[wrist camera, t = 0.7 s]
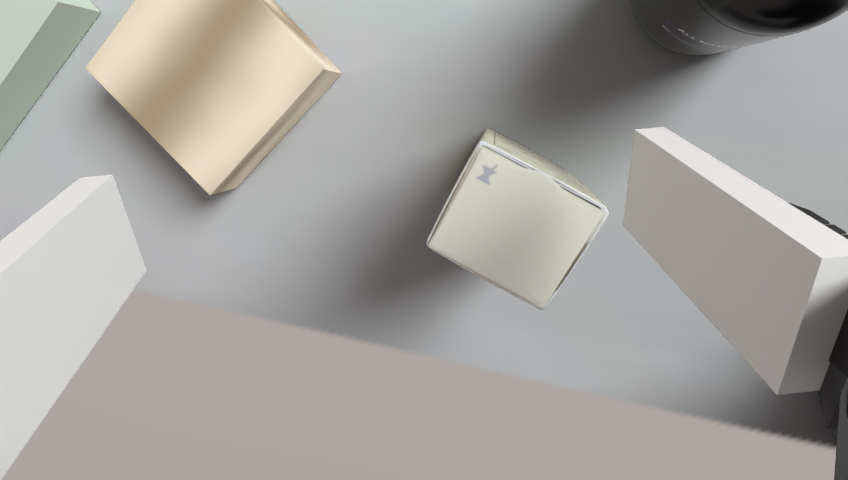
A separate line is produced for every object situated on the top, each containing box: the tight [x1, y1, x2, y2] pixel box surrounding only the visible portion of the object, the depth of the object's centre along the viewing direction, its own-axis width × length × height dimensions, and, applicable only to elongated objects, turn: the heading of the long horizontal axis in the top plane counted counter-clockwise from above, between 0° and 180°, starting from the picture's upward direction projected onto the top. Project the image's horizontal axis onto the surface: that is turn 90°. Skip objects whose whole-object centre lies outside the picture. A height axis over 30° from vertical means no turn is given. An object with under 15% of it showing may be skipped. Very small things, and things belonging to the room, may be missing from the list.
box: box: [426, 129, 609, 310], centre depth 24 cm, size 5×4×11 cm
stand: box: [86, 0, 342, 195], centre depth 29 cm, size 9×9×3 cm
